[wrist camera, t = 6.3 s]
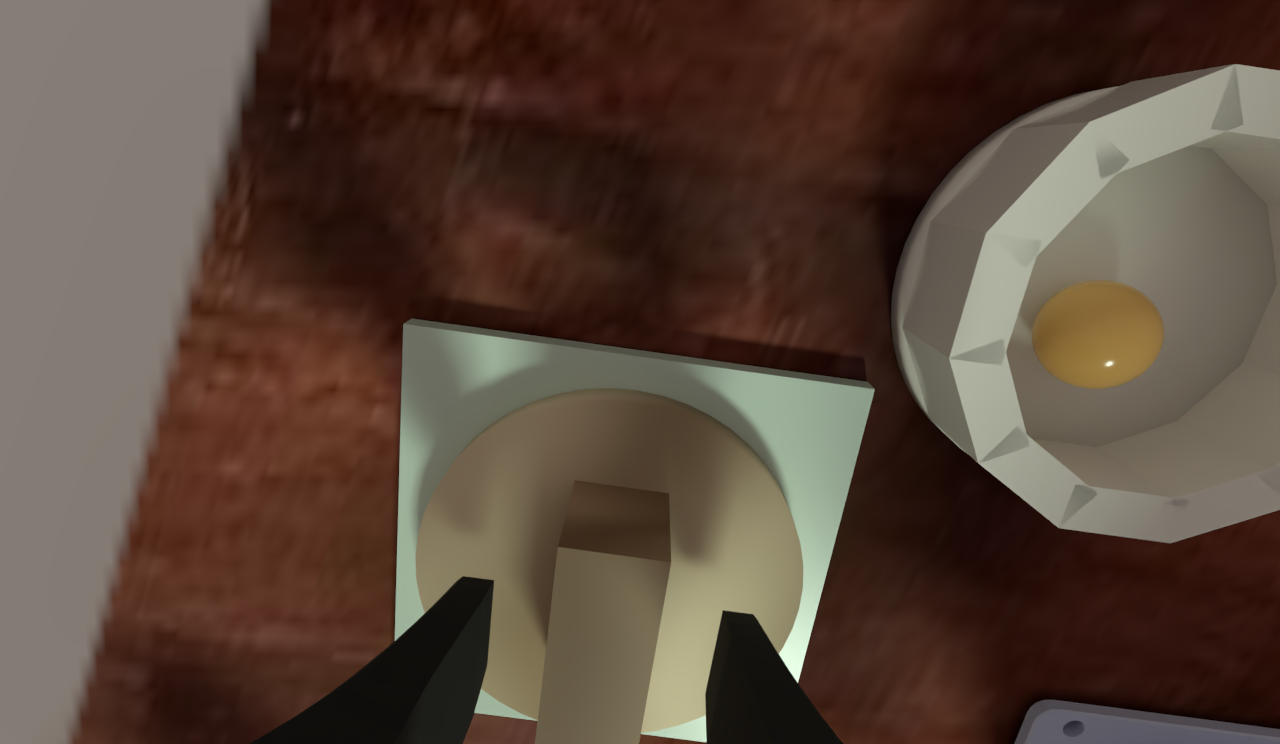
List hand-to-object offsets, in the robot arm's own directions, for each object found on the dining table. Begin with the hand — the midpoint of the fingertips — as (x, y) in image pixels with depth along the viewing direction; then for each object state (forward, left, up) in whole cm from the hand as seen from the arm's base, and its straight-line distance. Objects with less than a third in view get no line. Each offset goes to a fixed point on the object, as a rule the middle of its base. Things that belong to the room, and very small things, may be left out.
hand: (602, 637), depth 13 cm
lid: (0, 0, -3) cm, 3 cm away
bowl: (-9, -8, -3) cm, 12 cm away
